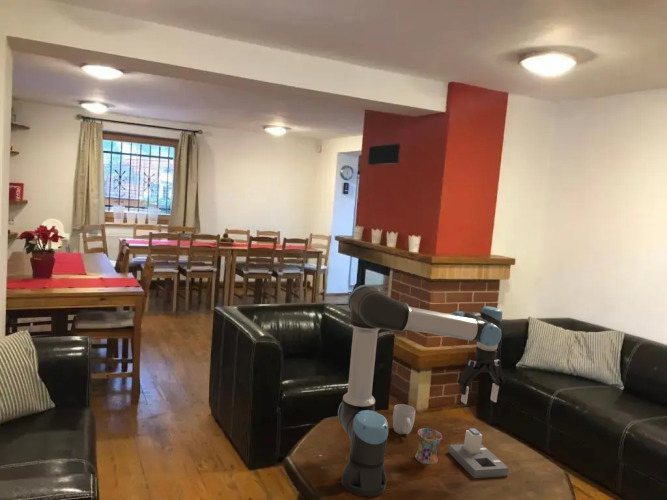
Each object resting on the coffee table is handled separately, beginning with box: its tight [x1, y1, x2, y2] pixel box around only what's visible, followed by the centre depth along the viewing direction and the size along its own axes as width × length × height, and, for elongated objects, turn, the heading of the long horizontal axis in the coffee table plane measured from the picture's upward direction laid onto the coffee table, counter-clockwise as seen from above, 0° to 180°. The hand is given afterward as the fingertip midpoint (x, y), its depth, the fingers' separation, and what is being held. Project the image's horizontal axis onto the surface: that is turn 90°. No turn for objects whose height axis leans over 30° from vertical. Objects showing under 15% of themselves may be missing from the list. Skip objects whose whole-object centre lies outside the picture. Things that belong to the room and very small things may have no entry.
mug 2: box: [414, 427, 443, 466], centre depth 195 cm, size 12×9×11 cm
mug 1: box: [392, 403, 416, 435], centre depth 214 cm, size 13×9×10 cm
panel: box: [448, 443, 510, 479], centre depth 194 cm, size 14×18×4 cm
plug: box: [463, 427, 483, 454], centre depth 198 cm, size 4×4×11 cm
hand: (478, 401), depth 196 cm, fingers open, 13 cm apart
